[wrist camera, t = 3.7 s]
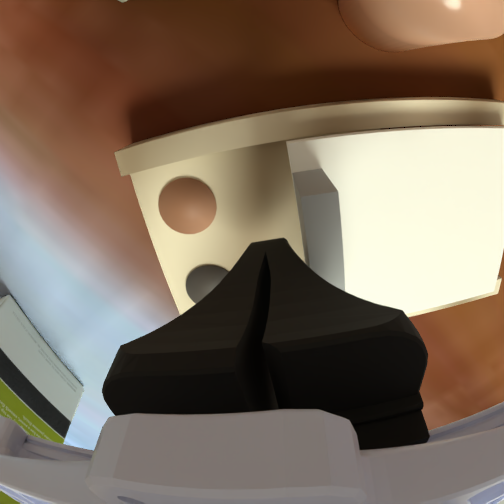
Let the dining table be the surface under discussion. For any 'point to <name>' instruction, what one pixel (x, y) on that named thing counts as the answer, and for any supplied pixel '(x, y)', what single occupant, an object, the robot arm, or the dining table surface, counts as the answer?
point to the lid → (403, 212)
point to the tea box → (33, 381)
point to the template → (255, 180)
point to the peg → (421, 22)
